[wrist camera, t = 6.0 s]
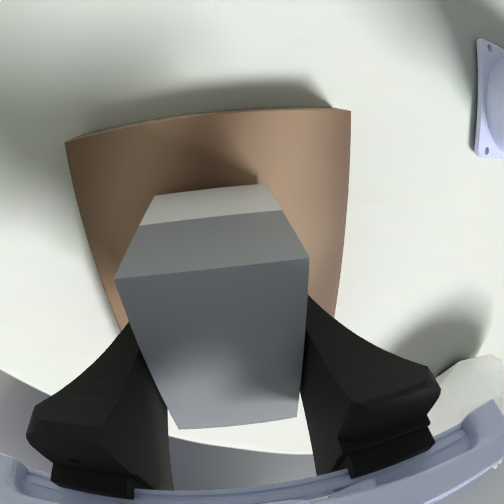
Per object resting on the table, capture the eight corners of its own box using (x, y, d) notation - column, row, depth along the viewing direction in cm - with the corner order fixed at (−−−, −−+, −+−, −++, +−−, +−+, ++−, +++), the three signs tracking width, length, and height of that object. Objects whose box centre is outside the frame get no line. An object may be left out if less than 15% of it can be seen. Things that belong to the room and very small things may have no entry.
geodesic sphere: (413, 463, 29) (497, 491, 17) (366, 463, 23) (484, 511, 11) (455, 366, 33) (541, 379, 21) (425, 331, 27) (547, 345, 15)
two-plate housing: (266, 183, 12) (309, 257, 7) (270, 317, 15) (296, 416, 10) (154, 195, 12) (113, 279, 6) (183, 327, 15) (178, 429, 10)
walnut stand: (333, 107, 13) (350, 111, 11) (319, 329, 20) (328, 350, 18) (82, 134, 12) (64, 142, 10) (144, 348, 19) (140, 371, 17)
